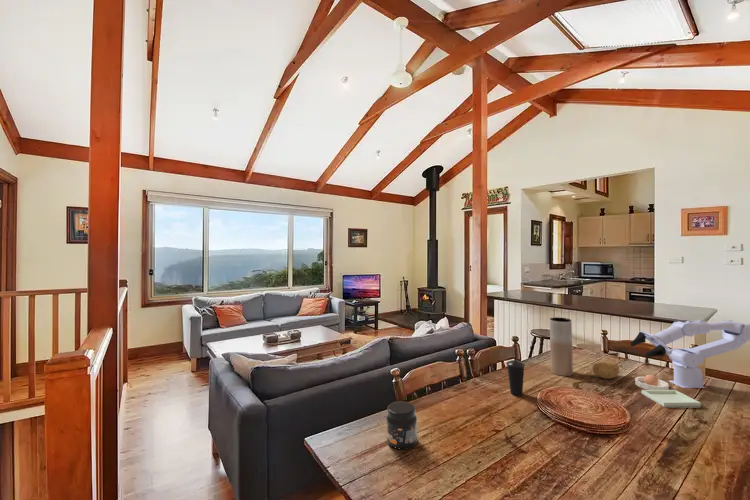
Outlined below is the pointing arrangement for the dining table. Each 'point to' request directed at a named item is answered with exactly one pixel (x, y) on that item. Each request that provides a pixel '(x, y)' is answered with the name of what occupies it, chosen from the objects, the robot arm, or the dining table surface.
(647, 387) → the dish
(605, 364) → the potato
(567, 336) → the vase
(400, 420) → the supplement container
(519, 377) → the drinking cup
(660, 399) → the tray
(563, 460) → the dining table surface
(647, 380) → the ball
